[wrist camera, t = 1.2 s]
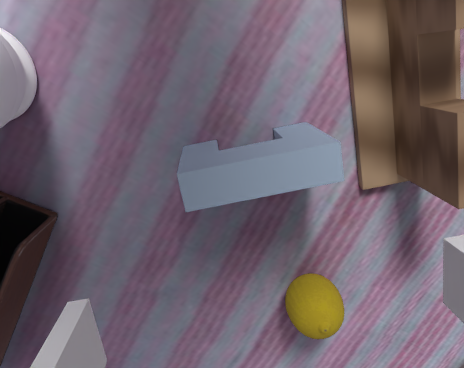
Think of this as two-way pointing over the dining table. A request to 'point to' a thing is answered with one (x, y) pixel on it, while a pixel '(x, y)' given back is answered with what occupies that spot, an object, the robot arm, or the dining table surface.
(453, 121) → the walnut notched stand
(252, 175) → the gray u-shaped block
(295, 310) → the lemon
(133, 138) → the dining table surface
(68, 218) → the dining table surface
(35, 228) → the letter holder
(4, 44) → the jar
